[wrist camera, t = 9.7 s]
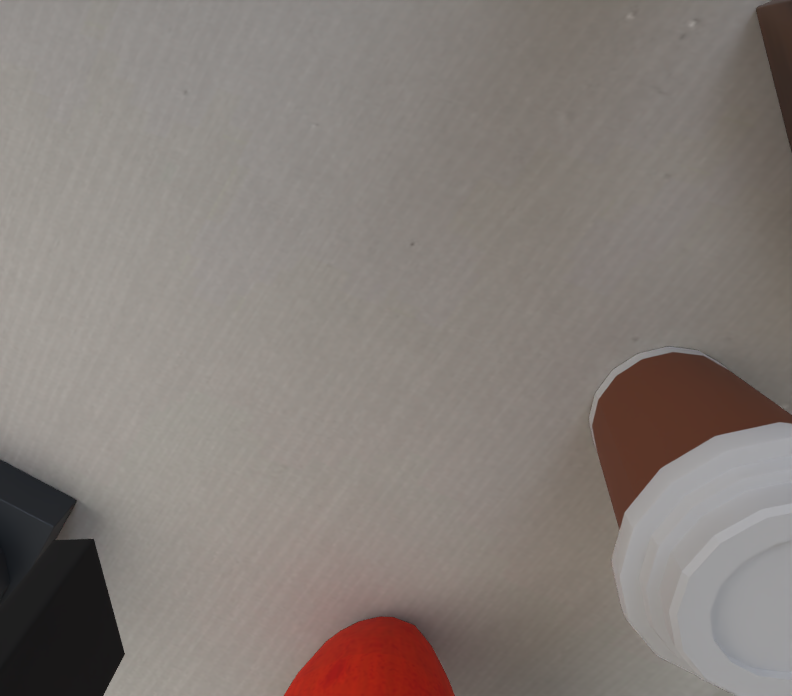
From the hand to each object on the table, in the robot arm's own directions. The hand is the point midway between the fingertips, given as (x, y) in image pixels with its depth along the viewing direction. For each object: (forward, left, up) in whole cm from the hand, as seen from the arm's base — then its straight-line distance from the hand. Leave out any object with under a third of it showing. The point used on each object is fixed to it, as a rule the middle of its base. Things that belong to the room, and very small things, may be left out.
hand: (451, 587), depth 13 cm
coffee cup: (+9, +7, -18) cm, 21 cm away
